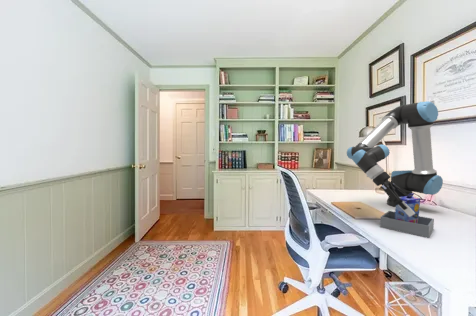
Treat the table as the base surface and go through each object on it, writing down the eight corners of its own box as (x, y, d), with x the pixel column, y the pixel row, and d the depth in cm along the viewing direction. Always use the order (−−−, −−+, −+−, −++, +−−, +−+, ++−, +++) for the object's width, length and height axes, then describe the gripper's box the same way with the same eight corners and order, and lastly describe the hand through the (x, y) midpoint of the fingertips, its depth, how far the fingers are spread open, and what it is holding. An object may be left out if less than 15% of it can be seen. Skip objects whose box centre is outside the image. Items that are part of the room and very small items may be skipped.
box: (388, 220, 121) (389, 210, 121) (433, 229, 108) (433, 218, 108) (380, 227, 111) (380, 216, 110) (428, 238, 98) (429, 226, 97)
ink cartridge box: (406, 226, 105) (407, 194, 104) (393, 222, 110) (395, 192, 109) (419, 223, 109) (421, 193, 108) (407, 220, 114) (408, 190, 113)
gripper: (378, 178, 127) (412, 212, 117) (364, 182, 111) (402, 222, 101) (390, 169, 123) (426, 203, 113) (377, 172, 107) (417, 213, 97)
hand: (414, 212), depth 107 cm, fingers closed on ink cartridge box, 11 cm apart
